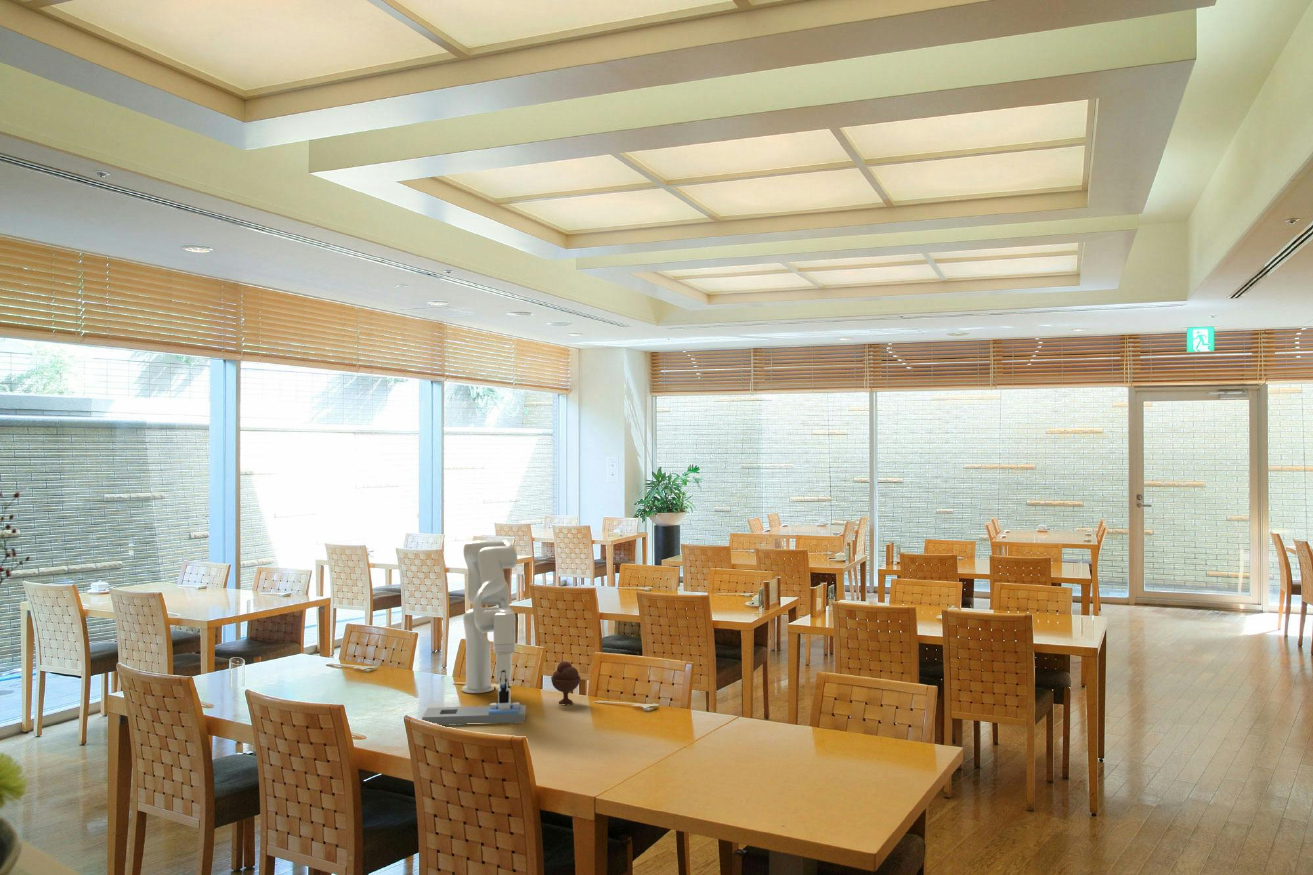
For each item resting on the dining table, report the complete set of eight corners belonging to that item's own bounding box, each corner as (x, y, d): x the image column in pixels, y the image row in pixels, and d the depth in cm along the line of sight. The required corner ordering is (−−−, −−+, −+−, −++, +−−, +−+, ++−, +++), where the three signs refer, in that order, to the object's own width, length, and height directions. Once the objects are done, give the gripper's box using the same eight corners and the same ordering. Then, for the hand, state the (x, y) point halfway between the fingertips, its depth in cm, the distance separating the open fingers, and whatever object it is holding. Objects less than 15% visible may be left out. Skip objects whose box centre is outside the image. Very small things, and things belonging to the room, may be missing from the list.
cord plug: (498, 717, 322) (498, 682, 322) (510, 716, 322) (510, 682, 322) (498, 720, 318) (497, 685, 318) (509, 720, 318) (509, 685, 318)
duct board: (427, 716, 323) (427, 701, 323) (525, 713, 326) (525, 698, 327) (422, 726, 311) (422, 710, 311) (524, 722, 314) (524, 707, 315)
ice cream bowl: (545, 705, 337) (545, 663, 338) (562, 698, 347) (562, 657, 347) (569, 708, 332) (569, 666, 333) (586, 701, 342) (585, 660, 342)
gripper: (495, 643, 329) (495, 694, 328) (491, 653, 311) (491, 707, 311) (516, 642, 329) (516, 693, 329) (513, 652, 312) (514, 706, 312)
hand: (504, 699), depth 320 cm, fingers open, 5 cm apart
